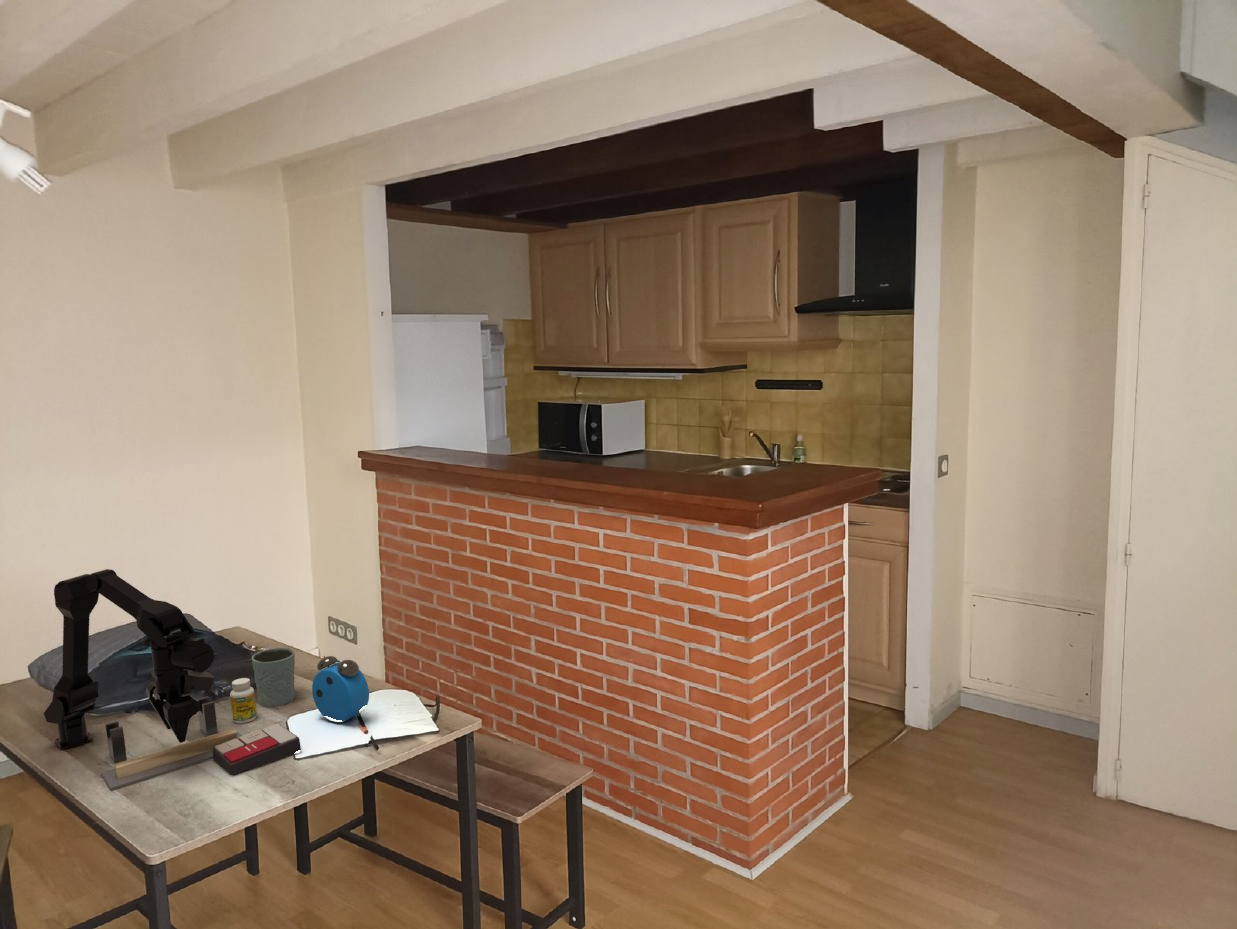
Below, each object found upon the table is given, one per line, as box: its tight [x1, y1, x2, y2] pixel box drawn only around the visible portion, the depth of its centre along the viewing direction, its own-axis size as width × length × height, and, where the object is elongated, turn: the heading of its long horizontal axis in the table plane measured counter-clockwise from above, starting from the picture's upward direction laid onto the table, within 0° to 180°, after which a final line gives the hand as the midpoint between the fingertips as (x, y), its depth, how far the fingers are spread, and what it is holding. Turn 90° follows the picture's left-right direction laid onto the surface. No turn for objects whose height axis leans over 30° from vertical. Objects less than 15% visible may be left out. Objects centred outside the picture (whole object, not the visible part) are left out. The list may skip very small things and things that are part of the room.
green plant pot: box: [251, 647, 296, 708], centre depth 227 cm, size 10×10×12 cm
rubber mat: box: [100, 731, 243, 791], centre depth 197 cm, size 9×28×1 cm, turn 130°
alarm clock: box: [311, 655, 370, 722], centre depth 214 cm, size 13×6×15 cm, turn 60°
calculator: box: [213, 723, 302, 777], centre depth 198 cm, size 11×4×15 cm
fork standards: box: [104, 696, 219, 765], centre depth 205 cm, size 5×21×8 cm, turn 130°
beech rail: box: [113, 728, 237, 779], centre depth 197 cm, size 2×24×2 cm, turn 130°
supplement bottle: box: [229, 677, 258, 724], centre depth 217 cm, size 5×5×10 cm
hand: (176, 735), depth 196 cm, fingers open, 9 cm apart
